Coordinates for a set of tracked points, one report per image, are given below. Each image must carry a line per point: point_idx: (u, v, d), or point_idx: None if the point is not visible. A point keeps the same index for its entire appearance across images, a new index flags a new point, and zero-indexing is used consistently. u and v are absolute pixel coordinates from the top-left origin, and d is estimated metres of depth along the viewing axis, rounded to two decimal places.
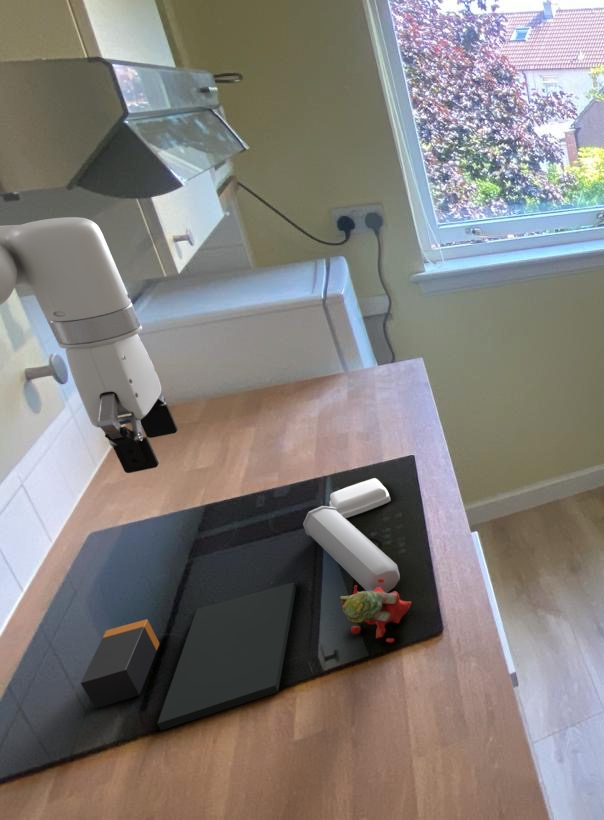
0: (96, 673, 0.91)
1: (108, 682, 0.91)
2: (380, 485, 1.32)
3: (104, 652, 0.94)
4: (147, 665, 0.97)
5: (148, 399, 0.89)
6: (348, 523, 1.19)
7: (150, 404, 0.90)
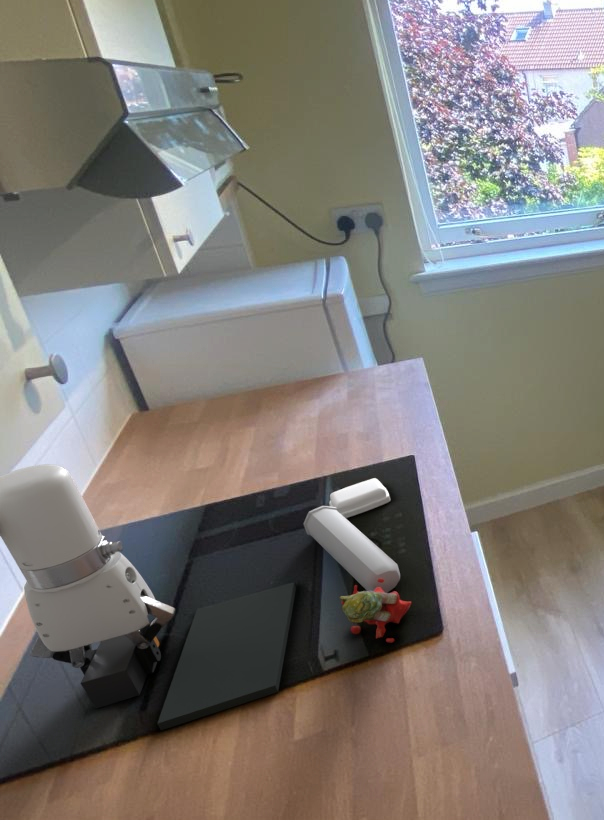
0: (96, 673, 0.91)
1: (108, 682, 0.91)
2: (380, 485, 1.32)
3: (104, 652, 0.94)
4: None
5: (78, 638, 0.90)
6: (348, 523, 1.19)
7: (84, 642, 0.91)
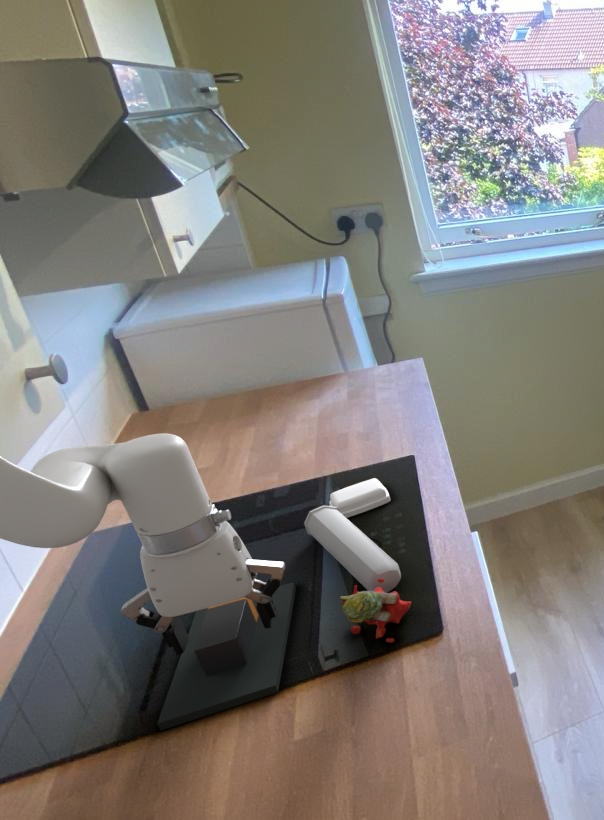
0: (208, 641, 0.94)
1: (219, 650, 0.94)
2: (380, 485, 1.32)
3: (212, 622, 0.97)
4: (251, 635, 0.99)
5: (188, 604, 0.93)
6: (349, 522, 1.19)
7: (193, 608, 0.93)
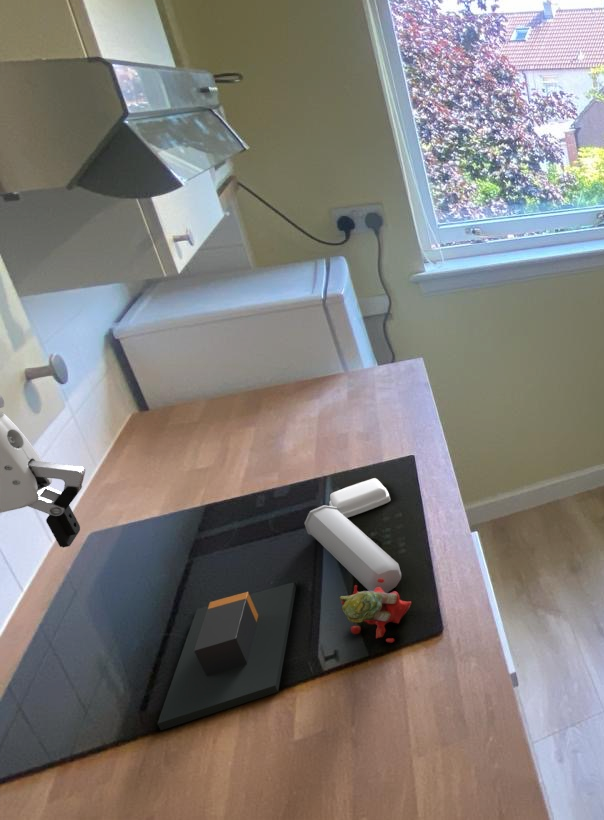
0: (208, 641, 0.94)
1: (219, 650, 0.94)
2: (380, 485, 1.32)
3: (212, 622, 0.97)
4: (251, 635, 0.99)
5: None
6: (349, 522, 1.19)
7: None
